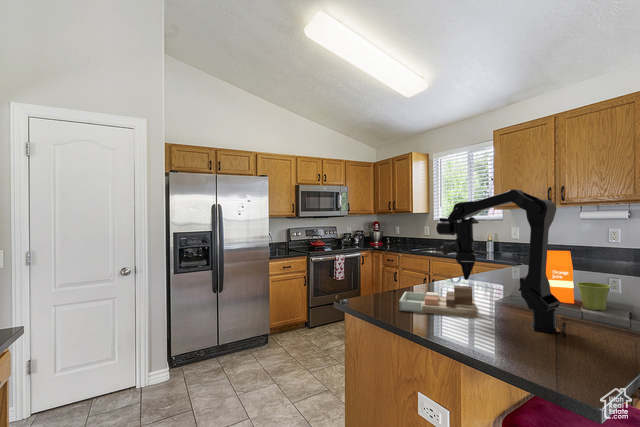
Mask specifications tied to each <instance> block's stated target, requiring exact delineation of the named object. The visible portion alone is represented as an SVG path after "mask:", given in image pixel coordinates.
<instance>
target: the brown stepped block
mask: <svg viewBox="0 0 640 427" xmlns="http://www.w3.org/2000/svg"><path fill="white" fill-rule="evenodd" d="M445 293H446V296H445V297H446V307H455V304H461V305H473V302H472V299H473V288H472V286H465V285H453V291H446V292H445Z"/></svg>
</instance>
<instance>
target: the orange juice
mask: <svg viewBox="0 0 640 427" xmlns="http://www.w3.org/2000/svg"><path fill="white" fill-rule="evenodd" d="M572 261H573V260H572V256H571V251H570V250H547V265H546V276H547V278H548V281H549V283H550V290H551V293H552V294H553V295H554V296H555V297H556V298H557V299H558V300H559V301H560V303H566V304H575V295H574V288H575V286H574V271H573V270H574V268H573V262H572Z"/></svg>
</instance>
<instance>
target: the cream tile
mask: <svg viewBox="0 0 640 427" xmlns="http://www.w3.org/2000/svg"><path fill="white" fill-rule="evenodd" d="M439 293H440V292H434V291H433V292H432V291H427V292H426V293H425V296H433V297H438V300H439V296H440V294H439Z"/></svg>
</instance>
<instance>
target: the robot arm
mask: <svg viewBox="0 0 640 427" xmlns="http://www.w3.org/2000/svg"><path fill="white" fill-rule="evenodd" d="M512 203H513V204H514V205H516V206H517V207H518V208H520V209H522V210H524V211H525V213H526V214H525V215H526V220H527V222H528V225H529V227H530V234H529V248H528V249H529V250H528V251H529V253H528V270H527V271H528V272H527V274H526V276H523V277H520V278H519V289H518V292H520V296H521V298H522V299H523V300H524V301H525V303H526V305H527V307H528V310H532V322H531V321H530V322H529V325H530V327H531V328H532V329H533V331H535V332H544V333H556V334H561V333H562V332H561V330H560V329H559V328H558V327H557V317H556V309H558V308H559V307H560V305H561V302H560V301H559V300H558V299H557V298H556V297H555V296H554V295H553V294H552V293H551V290H550V283H549V281H548V278H547V276H546V265H547V251H548V249H549V248H548V246H549V233H550V227H551V226H552V223H553V221H554V219H555V217H556V216H555V215H556V212H557V205H556V203H554V202H553V200H550V199H545V198H544V199H543V198H539V197H536V196H534V195H531V194H529V193H527V192H525V191H523V190H521V189H510V190H508V191H504V192H502V193H498V194H495V195H491V196H488V197H485V198H481V199H477V200H471V201H462V202H461V201H460V202H457V203H455V204H454V205H453V208H452V211H451V212H450V214H449V215H448V217H447V218H445V217H440V218H439V221H438V222H437V224H436V231H437V232H436V233H437V234H438V235H440V236H455V235H456V238H455V242H451V243H449V242H446V243H444V244H443V245H442V246H440V250H441V252H442V255H443V256H447V255H448V254H452V253H454V252H455V253H456V254H455V261H456V263H457V264H459V265H460V266H461V270H462V275H463V278H464V280H465V281H469V278H470V276H471V273H472V271H473V268H474V267H475V264H476V261H477V260H476V257H477V256H476V254H475V250H474V225H475V224H479V221H478V220H477V219H476V218H475V216H476V215H478V214H481V212H483V211H486V210H491V209H493V208H499V207H501V206H505V205H509V204H512Z"/></svg>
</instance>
